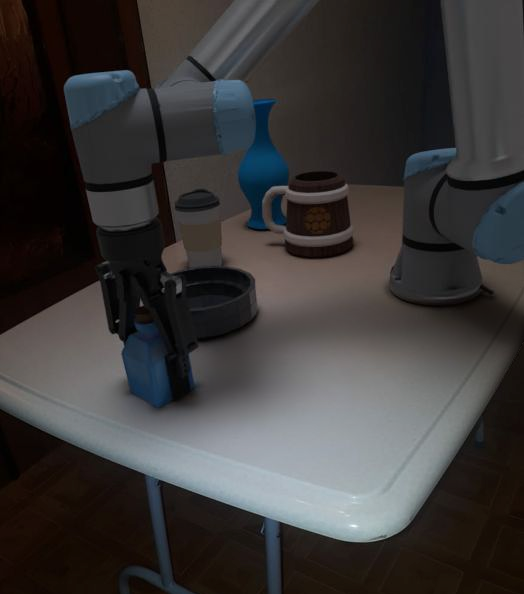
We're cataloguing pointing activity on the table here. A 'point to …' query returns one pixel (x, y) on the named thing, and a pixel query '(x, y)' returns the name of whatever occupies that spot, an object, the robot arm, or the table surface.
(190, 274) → the bowl
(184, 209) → the coffee cup
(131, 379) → the perfume bottle
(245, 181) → the vase
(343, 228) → the mug
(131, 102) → the robot arm
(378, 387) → the table surface
